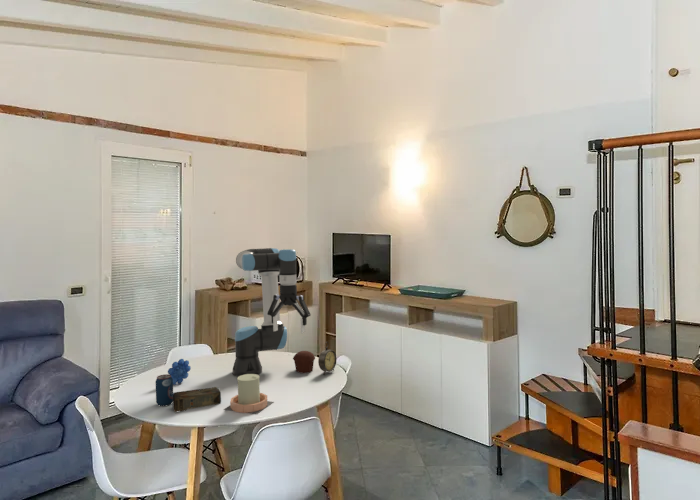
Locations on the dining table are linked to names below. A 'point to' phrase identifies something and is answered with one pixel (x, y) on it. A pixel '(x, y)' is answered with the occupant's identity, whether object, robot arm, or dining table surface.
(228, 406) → the mat
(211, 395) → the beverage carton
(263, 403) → the bowl
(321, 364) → the alarm clock
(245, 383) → the can
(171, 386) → the soda can
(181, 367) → the grapes
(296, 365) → the muffin
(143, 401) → the dining table surface
